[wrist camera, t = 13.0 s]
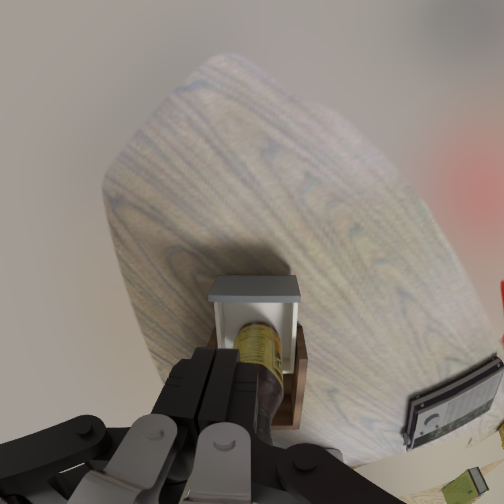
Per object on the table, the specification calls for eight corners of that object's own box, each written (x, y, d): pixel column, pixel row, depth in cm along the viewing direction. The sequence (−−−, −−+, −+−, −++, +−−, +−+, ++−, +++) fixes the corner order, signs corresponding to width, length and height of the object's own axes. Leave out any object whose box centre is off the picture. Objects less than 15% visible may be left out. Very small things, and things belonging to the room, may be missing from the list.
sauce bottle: (275, 358, 38) (274, 476, 19) (232, 350, 38) (206, 466, 19) (286, 320, 37) (295, 441, 17) (240, 312, 37) (213, 429, 18)
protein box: (441, 489, 58) (450, 515, 43) (467, 469, 54) (478, 494, 39) (453, 486, 59) (463, 509, 44) (478, 466, 54) (490, 489, 40)
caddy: (296, 394, 43) (299, 429, 35) (222, 393, 44) (214, 426, 36) (302, 326, 39) (307, 359, 31) (215, 325, 40) (203, 357, 32)
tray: (292, 357, 39) (294, 385, 33) (224, 356, 40) (217, 384, 34) (295, 275, 36) (300, 295, 30) (218, 275, 36) (207, 295, 30)
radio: (508, 366, 34) (486, 421, 39) (496, 353, 39) (478, 409, 44) (415, 415, 38) (405, 461, 42) (406, 397, 43) (400, 446, 47)
